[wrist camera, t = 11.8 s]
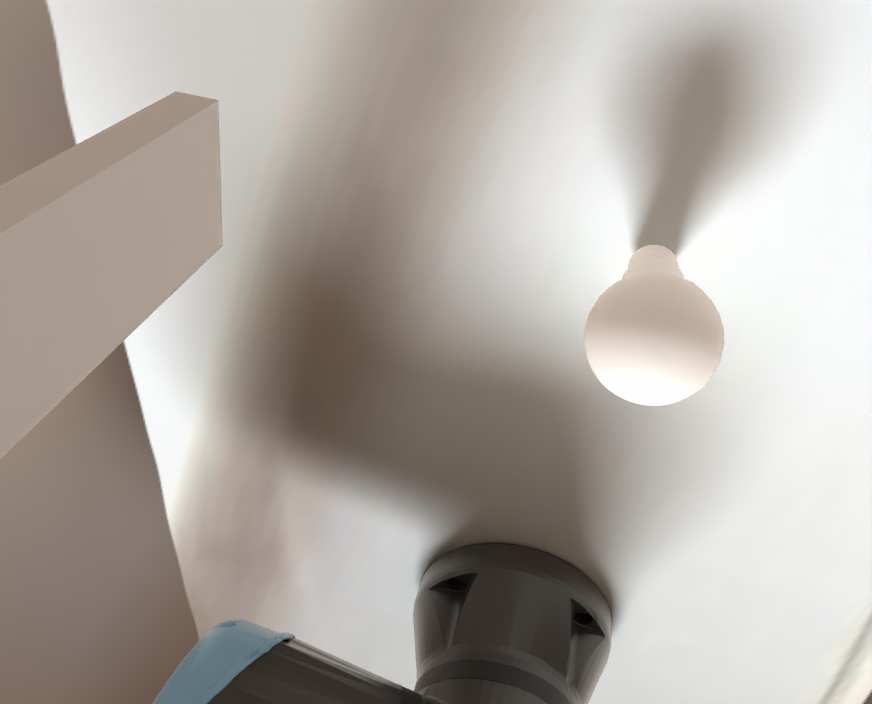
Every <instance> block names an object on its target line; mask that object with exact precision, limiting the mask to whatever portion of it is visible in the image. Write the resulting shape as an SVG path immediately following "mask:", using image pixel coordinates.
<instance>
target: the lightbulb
mask: <svg viewBox="0 0 872 704" xmlns="http://www.w3.org/2000/svg"><path fill="white" fill-rule="evenodd" d="M584 343H585V351H586V355H587V359H588V361H589V364H590V367H591V368H592V370H593V372H594V373H595V375H596V376H597V378H598V380H599V381H600V382H601V383H602V384H603V385H604V386H605V387H606V388H607V389H608V390H610V391H611V392H613V393H614V394H615V395H617V396H619V397H621V398H623V399H625V400H627V401H629V402H633V403H636V404H640V405H648V406H659V405H667V404H672V403H675V402H678V401H681V400H683V399H685V398H687V397H688V396H690V395H692V394H694V393H696V392H697V391H698V390H699V389H701V388H702V387H703V386H704V385H705V384H706V383H707V382H708V380H709V379H710V378H711V377H712V375H713V373H714V372H715V370H716V368H717V366H718V364H719V362H720V359H721V355H722V350H723V346H724V331H723V325H722V321H721V317H720V314H719V312H718V311H717V309H716V307H715V305H714V304H713V302H712V301H711V299H710V298H709V297H708V295H707V294H706V293H705V292H704V291H703V290H702V289H701V288H699V287H698V286H697V285H695V284H694V283H693V282H691V281H689V280H686V279H684V276H683V274H682V272H681V270H680V269H679V266H678V263H677V259H676V257H675V255H674V254H673V253H672V251H670V250H669V249H668V248H666V247H664V246H660V245H647V246H644V247H642V248H640V249H638V250H637V251H636V252H635V253H634V254H633V255H632V257H631V258H630V261H629V264H628V269H627V270H626V272H625V274H624V275H623V278H622V280H620V281H618V282H616V283H615V284H614V285H612V286H611V287H609V288H608V289H607V290H606V291H605V292H604V293H603V294H602V295H601V296H600V297H599V299H598V300H597V302H596V303H595V305H594V307H593V308H592V310H591V311H590V313H589V316H588V319H587V322H586V327H585V336H584Z"/></svg>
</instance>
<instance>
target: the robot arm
mask: <svg viewBox="0 0 872 704" xmlns="http://www.w3.org/2000/svg"><path fill="white" fill-rule="evenodd" d="M221 247H222V213H221V180H220V146H219V113H218V100H214V99H209V98H204V97H199V96H195V95H190V94H185V93H180V92H174V93H172V94H170V95H169V96H167V97H165V98H163V99H161V100H159V101H157V102H156V103H154V104H152V105H150V106H148V107H146V108H144V109H143V110H141V111H139V112H137V113H135V114H133V115H131V116H129V117H128V118H126V119H124V120H122V121H120V122H118V123H116V124H115V125H113V126H111V127H109V128H107V129H105V130H103V131H102V132H100V133H98V134H96V135H94V136H92V137H90V138H88V139H87V140H85V141H83V142H81V143H79V144H77V145H75V146H74V147H72V148H70V149H68V150H66V151H64V152H62V153H61V154H59V155H57V156H55V157H53V158H51V159H49V160H48V161H46V162H44V163H42V164H40V165H38V166H36V167H35V168H33V169H31V170H29V171H27V172H25V173H23V174H21V175H20V176H18V177H16V178H14V179H12V180H10V181H8V182H7V183H5V184H3V185H1V186H0V459H1V458H2V457H3V456H4V455H5V454H6V453H7V452H8V451H9V450H10V449H11V448H12V447H13V446H14V445H16V444H17V443H18V442H19V440H21V439H22V438H23V437H24V436H25V435H26V434H27V433H28V432H29V431H30V430H31V429H32V428H33V427H34V426H35V425H36V424H37V423H38V422H39V421H40V420H42V419H43V418H44V417H45V416H46V415H47V414H48V413H49V412H50V411H51V410H52V409H53V408H54V407H55V406H56V405H57V404H58V403H59V402H60V401H61V400H62V399H63V398H64V397H65V396H66V395H67V394H69V392H70V391H72V390H73V389H74V388H75V387H76V386H77V385H78V384H79V383H80V382H81V381H82V380H83V379H84V378H85V377H86V376H87V375H88V374H89V373H90V372H91V371H92V370H94V369H95V368H96V367H97V366H98V365H99V364H100V363H101V362H102V361H103V360H104V359H105V358H106V357H107V356H108V355H109V354H110V353H111V352H112V351H113V350H114V349H115V348H116V347H117V346H118V345H120V343H122V342H123V341H124V340H125V339H126V338H127V337H128V336H129V335H130V334H131V333H132V332H133V331H134V330H135V329H136V328H137V327H138V326H139V325H140V324H141V323H142V322H144V321H145V320H146V319H147V318H148V317H149V316H150V315H151V314H152V313H153V312H154V311H155V310H156V309H157V308H158V307H159V306H160V305H161V304H162V303H163V302H164V301H165V300H166V299H167V298H168V297H170V296H171V295H172V294H173V293H174V292H175V291H176V290H177V289H178V288H179V287H180V286H181V285H182V284H183V283H184V282H185V281H186V280H187V279H188V278H189V277H190V276H191V275H192V274H193V273H194V272H196V271H197V270H198V269H199V268H200V267H201V266H202V265H203V264H204V263H205V262H206V261H207V260H208V259H209V258H210V257H211V256H212V255H213V254H214V253H215V252H216V251H217V250H218V249H219V248H221ZM413 620H414V636H415V652H416V667H417V682H416V686H415V690H414V691H412V690H409V689H407V688H405V687H402V686H401V685H398V684H396V683H394V682H391V681H389V680H387V679H384V678H382V677H380V676H378V675H375V674H373V673H371V672H368V671H366V670H364V669H362V668H360V667H357V666H355V665H353V664H351V663H348V662H346V661H344V660H342V659H340V658H337V657H335V656H333V655H331V654H328V653H326V652H324V651H322V650H320V649H317V648H315V647H313V646H311V645H308V644H306V643H304V642H302V641H300V640H297V639H296V638H295V636H294V635H292V634H290V633H282V634H281V633H278V632H275V631H273V630H270V629H267V628H265V627H262V626H259V625H257V624H254V623H251V622H249V621H246V620H241V619H232V620H228V621H225V622H222V623H220V624H218V625H217V626H215V627H214V628H213V629H211V630H210V631H209V632H208V633H207V634H206V635H205V636H203V637H202V639H201V640H200V641H199V642H198V643H197V644H196V645H195V646H194V647H193V649H192V650H191V651H190V652H189V653H188V655H187V656H186V657H185V659H184V660H183V661H182V662H181V664H180V665H179V666H178V668H177V669H176V670H175V672H174V673H173V674H172V676H171V677H170V679H169V680H168V681H167V683H166V684H165V686H164V687H163V689H162V690H161V692H160V693H159V695H158V696H157V697H156V699H155V700H154V702H153V704H588V702H589V700H590V697H591V695H592V693H593V691H594V689H595V687H596V684H597V682H598V680H599V678H600V676H601V674H602V671H603V669H604V667H605V665H606V663H607V660H608V657H609V653H610V647H611V632H612V617H611V612H610V608H609V606H608V603H607V601H606V599H605V598H604V596H603V594H602V593H601V592H600V590H599V589H598V588H597V587H596V585H595V584H594V583H593V582H592V581H591V580H590V579H589V578H587V577H586V576H585V575H584V574H583V573H581V572H580V571H579V570H577V569H576V568H574V567H573V566H571V565H569V564H568V563H566V562H564V561H562V560H560V559H558V558H556V557H554V556H551V555H549V554H546V553H543V552H540V551H537V550H534V549H530V548H526V547H521V546H515V545H507V544H480V545H473V546H467V547H463V548H460V549H457V550H454V551H451V552H449V553H447V554H445V555H443V556H442V557H440V558H439V559H437V560H436V561H435V562H434V563H433V564H432V565H431V566H430V567H429V568H428V569H427V571H426V572H425V574H424V576H423V578H422V580H421V583H420V587H419V590H418V593H417V597H416V600H415V604H414V612H413Z"/></svg>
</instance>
